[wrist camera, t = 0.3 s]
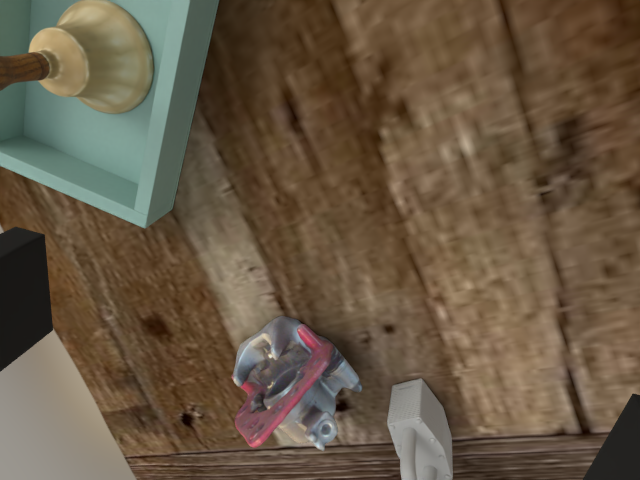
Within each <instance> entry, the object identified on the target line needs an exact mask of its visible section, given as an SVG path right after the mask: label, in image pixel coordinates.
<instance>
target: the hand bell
mask: <svg viewBox="0 0 640 480" xmlns="http://www.w3.org/2000/svg"><path fill="white" fill-rule="evenodd" d="M153 75H154V63H153V55H152V50H151V47H150V44H149V41H148V39H147V36H146V35H145V33H144V31H143V29H142V28H141V26H140V25H139V23H138V22H137V21H136V20H135V19H134V18H133V16H132V15H131V14H129V13H128V12H127V11H126V10H125V9H123V8H122V7H120V6H119V5H117V4H115V3H113V2H110V1H108V0H81V1H78V2H76V3H74V4H73V5H71V6H70V7H69V8H68V9H67V10H66V11H65V12H64V13H63V14H62V16H61V17H60V19H59V21H58V23H57V25H56V26H55V27H50V28H45V29H43V30H41V31H40V32H38V33H37V34H36V35H35V36H34V38H33V39H32V41H31V44H30V47H29V53H26V54H19V55H13V56H0V91H1V90H3V89H4V88H6V87H7V86H9V85H11V84H14V83H18V82H27V81H39V82H40V84H41V85H42V86H43V87H44V88H46V89H47V90H48V91H50V92H51V93H53V94H55V95H58V96H62V97H76V98H78V99H79V100H80V101H81V102H82V103H84V104H85V105H87V106H89V107H90V108H92V109H94V110H97V111H99V112H103V113H108V114H120V113H125V112H128V111H130V110H132V109H134V108H135V107H137V106H138V105H139V104H140V103H142V101H143V100H144V99H145V97H146V96H147V94H148V92H149V90H150V87H151V84H152V81H153Z"/></svg>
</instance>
